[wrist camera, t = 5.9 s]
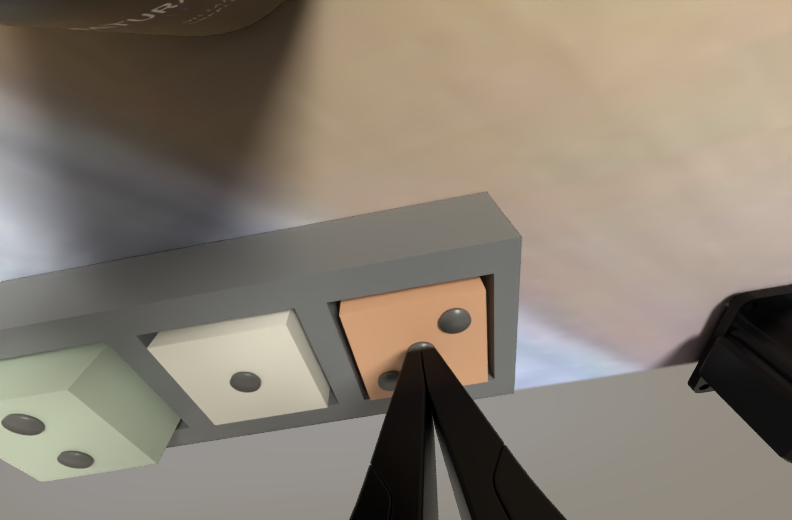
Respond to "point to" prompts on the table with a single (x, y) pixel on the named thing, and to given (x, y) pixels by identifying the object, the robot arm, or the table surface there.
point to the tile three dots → (418, 331)
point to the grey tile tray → (277, 299)
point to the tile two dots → (79, 413)
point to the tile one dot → (245, 366)
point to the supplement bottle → (138, 15)
